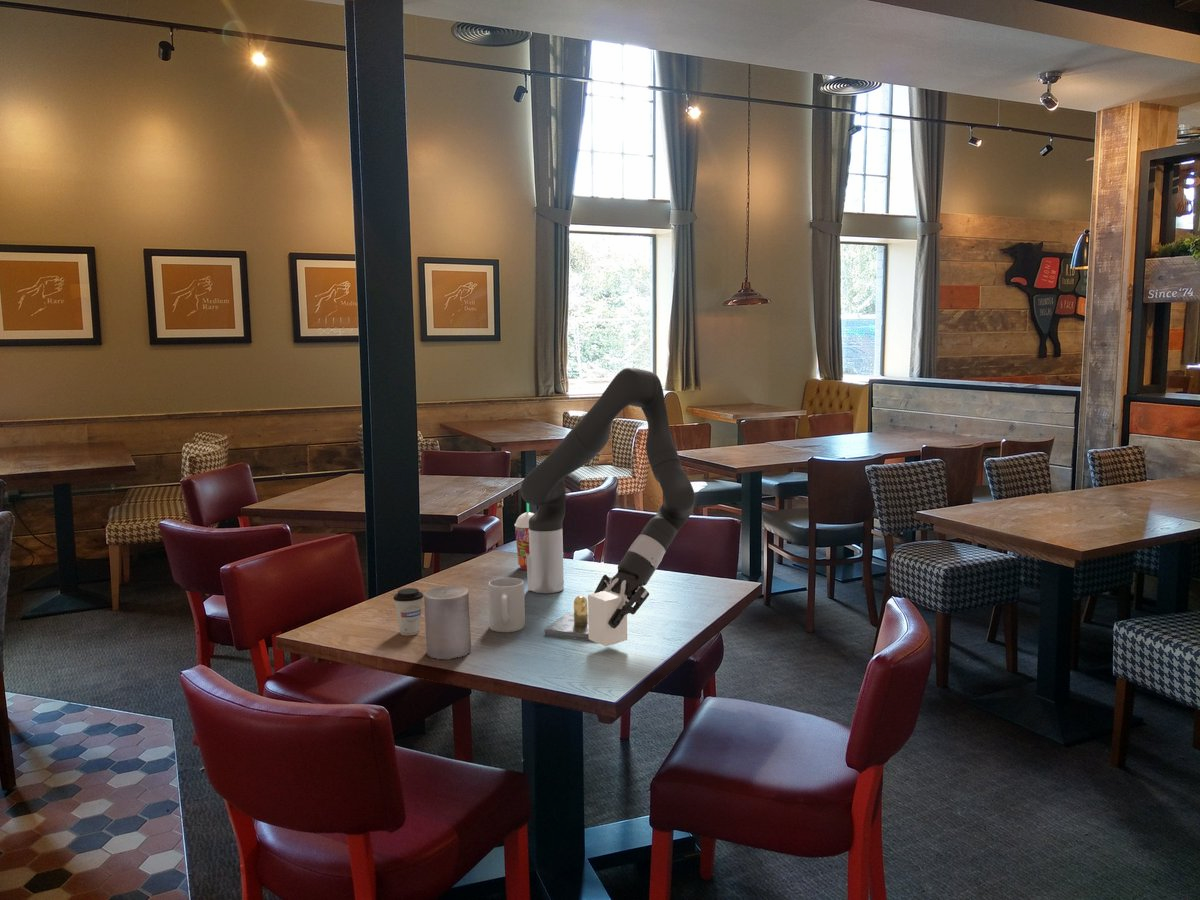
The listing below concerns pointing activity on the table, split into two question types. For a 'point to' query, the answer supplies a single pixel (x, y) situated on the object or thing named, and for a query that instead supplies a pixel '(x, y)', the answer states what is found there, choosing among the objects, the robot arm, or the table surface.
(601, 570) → the table surface
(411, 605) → the coffee cup
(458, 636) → the pillar candle
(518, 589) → the mug
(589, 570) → the table surface
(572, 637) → the base plate
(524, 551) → the smoothie
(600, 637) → the white rectangular block
